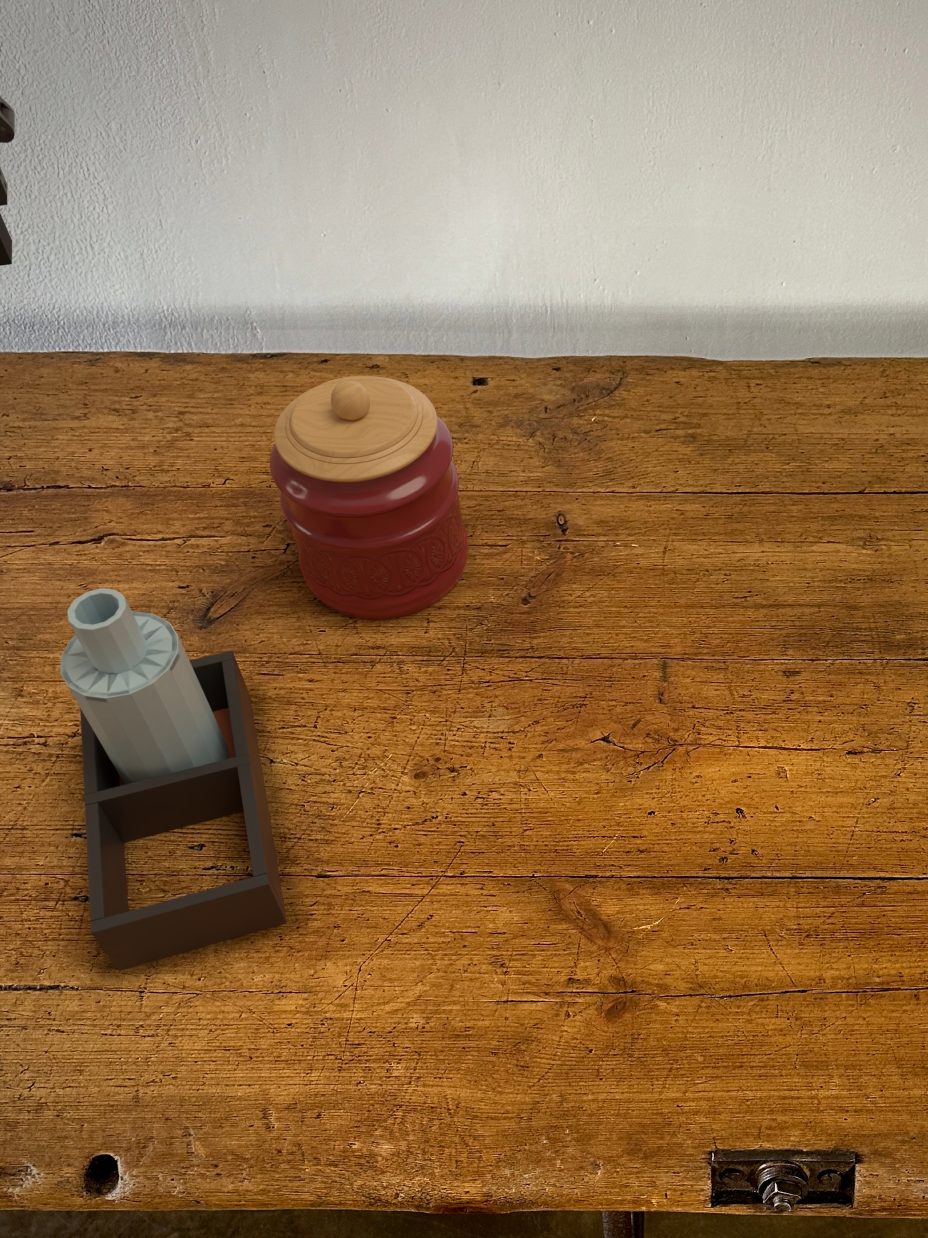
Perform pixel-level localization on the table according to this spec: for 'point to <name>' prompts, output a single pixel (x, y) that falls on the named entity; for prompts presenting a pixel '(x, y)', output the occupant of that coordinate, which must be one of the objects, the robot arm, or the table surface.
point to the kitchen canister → (370, 496)
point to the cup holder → (172, 806)
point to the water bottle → (138, 689)
